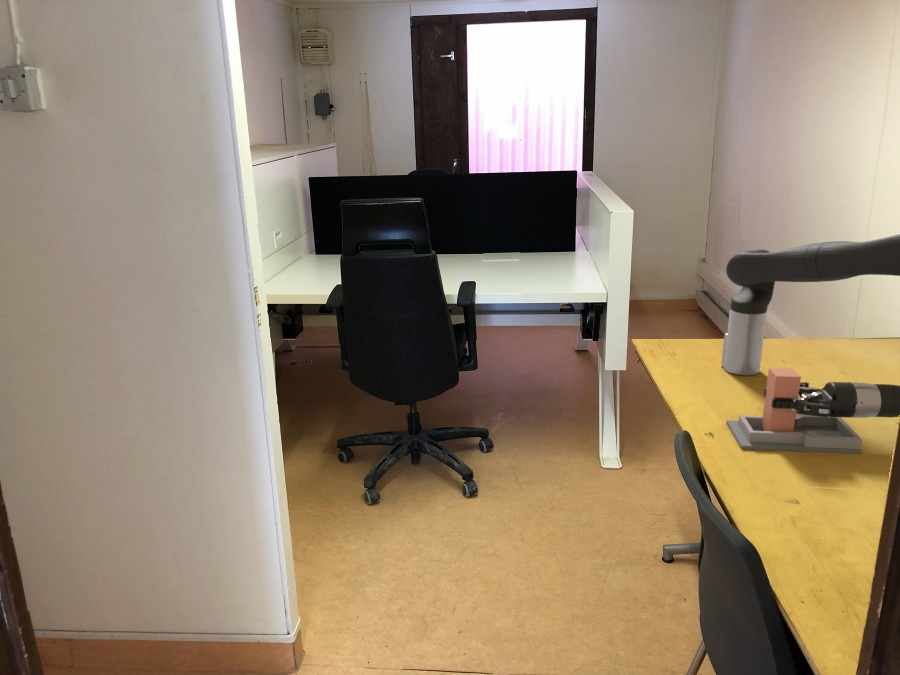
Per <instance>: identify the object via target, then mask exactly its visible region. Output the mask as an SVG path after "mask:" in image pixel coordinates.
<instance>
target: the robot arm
mask: <svg viewBox="0 0 900 675" xmlns="http://www.w3.org/2000/svg"><path fill="white" fill-rule="evenodd" d="M725 268H726V269H725V272H726V274H727V275H726V276H727V277H728V280H730V281H731V283H733V284H734V285H736V286H739V287H742V288H741V289H740V290H739V291H738V293H737V294H736V295H734V296H732V298H731V300H730V306H729V315H728V325H727V332H726V333H724V336H723V343H722V344H723V346H722V356H721V363H720V364H721V365H720V366H721V367H722V368H723V369H724V370H725V371H726V372H728V373H730V374H733V375H738V376H754V375H759V373H760V369H761V364H762V355H763V349H764V348H763V347H764V339H765V330H766V324H767V323H766V322H767V313H768V307H769V304H770V303H771V301H772V299H773V296H774V289H775V282H785V283H787V282H788V283H818V282H819V283H821V282H834V281H835V282H836V281H841V280H843V281H844V280H847V279H851V278H856V277H859V276H868V275H871V276H874V275H876V276H879V275H880V276H894V277H896V276H897V277H900V234H895V235H892V236H891V235H890V236H888V237H881V238H878V239H871V240H868V241H847V240H845V241H843V240H842V241H840V240H837V241H823V242H817V243H809V244H804V245H799V246H794V247H789V248H787V249H782V250H778V251H772V252H771V251H769V250H767V249H751V250H746V251H742V252H739V253H736V254H735V255H733V256H731V258H730V259H729V261H728V262H727V264H726V267H725ZM809 385H810V383H809V382H807V381H805V382H804V381H803V382H801V381H800V387H799V395H798V398H792V400H791V398H772V403H771V406H772V407H773V408H780V409H790V408H791V410H793V411H796V414H797V415H812V416H820V417H828V416H829V417H841V418H849V419H851V418H857V419H860V418H861V419H863V418H864V419H865V418H898V417H900V416H899V415H900V384H899V385H897V384H891V383H890V384H889V383H888V384H887V383H885V384H883V383H878V384H877V383H867V382H855V381H854V382H853V381H852V382H851V381H850V382H849V381H828V382H827V383H825V385H824V387H823V388H818V387H815V386H809ZM765 396H766V387H765V388H764V390H763V397H764V398H765Z"/></svg>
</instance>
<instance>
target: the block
mask: <svg viewBox="0 0 900 675" xmlns="http://www.w3.org/2000/svg"><path fill="white" fill-rule="evenodd" d="M801 378H802V376H801V375H800V374H799V373H798V372H797V371H796V370H795V369H794V368H790V367H789V368H785V367H780V368H779V367H769V368H768V372H767V379H766V380H767V382H766V387H765V388H766V396H765V397H764V405H763V414H762V416H763V420H762V428H763V430H764V431H778V432H793V431H794V424H795V416H796V414H797V411H793V410H791V408H790V409H780V408H773V407H772V406H771V403H772V398H791V400H792V398H798V397H799V387H800V383H801Z"/></svg>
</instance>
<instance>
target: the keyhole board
mask: <svg viewBox="0 0 900 675" xmlns="http://www.w3.org/2000/svg"><path fill="white" fill-rule="evenodd" d="M762 420H763V415H746V414H745V415H738V419H737V420H735V419H734V420H733V419H732V420H731V419H727V420H726V425H727V427H728V429H729V431H730V432H731V434H732V436H733V437H734V440H735V441H736V443H737V445H739V448H740V450H757V451H762V450H763V451H783V452H785V451H786V452H787V451H788V452H808V453H809V452H811V453H812V452H813V453H815V452H816V453H839V454H861V452H862V449H861V447H862V438H861V437H860V436H859V435H858V433H856V432H855V430H854V429H853V428H852V427H851V426H850V425H849V424H848V423H847V422H846V421H845V420H844V419H843V417H829V416H828V417H820V416H812V415H803V414H798V413H796V416H795V424H794V431H793V432H778V431H764V430H763V428H762Z"/></svg>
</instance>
